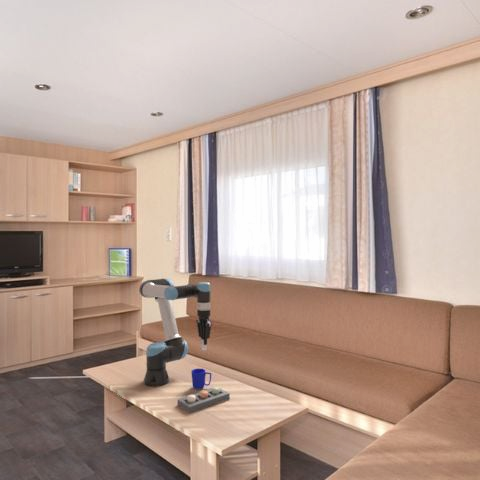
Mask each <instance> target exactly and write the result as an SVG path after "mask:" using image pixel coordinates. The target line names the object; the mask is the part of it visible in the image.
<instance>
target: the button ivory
mask: <svg viewBox="0 0 480 480" xmlns="http://www.w3.org/2000/svg"><path fill="white" fill-rule="evenodd" d="M186 397H187V403H189V404H191V403H194V402H196V396H195V395H193V394H188V395H187V396H186Z"/></svg>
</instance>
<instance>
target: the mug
mask: <svg viewBox="0 0 480 480" xmlns="http://www.w3.org/2000/svg"><path fill="white" fill-rule="evenodd" d="M190 373H191V382H192V384H191V385H192V387H193V389H196V390H201V389H203V388H205V386H210V384H211V381H212V372H209V371H206V369H205V368H194V369H191V372H190ZM206 375H209V381H208V383H206Z"/></svg>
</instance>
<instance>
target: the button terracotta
mask: <svg viewBox="0 0 480 480" xmlns="http://www.w3.org/2000/svg"><path fill="white" fill-rule="evenodd" d="M206 398H208V391H206V390H201V391H200V399H202V400H203V399H206Z"/></svg>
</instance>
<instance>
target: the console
mask: <svg viewBox="0 0 480 480" xmlns="http://www.w3.org/2000/svg"><path fill="white" fill-rule="evenodd" d="M205 391H208V398H206V399H203V400H202V399H200V392H201V391H200V392H197V393H193V394H192V395H195V396H196V402H194V403H191V404H189V403H187V396H184V397H180V398H177V406H179V407H180V409H181V408H182V409H183V410H184V411H186V412H187V413H194V412H196V411H199V410H202V409H205V408H207V407H211V406H213V405H216V404H218V403H221V402H224V401H227V400H228V401H229V400H231V399H230V393H229V392H228V391H226V390H223V389H222V388H220V394H218V395H213V394H212V388H209V389H207V390H205Z"/></svg>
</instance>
